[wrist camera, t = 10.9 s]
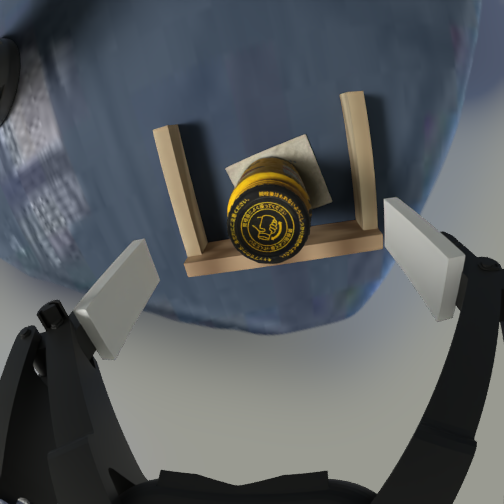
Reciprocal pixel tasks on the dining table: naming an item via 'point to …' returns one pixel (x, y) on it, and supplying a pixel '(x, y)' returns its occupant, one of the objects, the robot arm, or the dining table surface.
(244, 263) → the bay
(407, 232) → the robot arm
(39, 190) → the dining table surface
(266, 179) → the condiment
